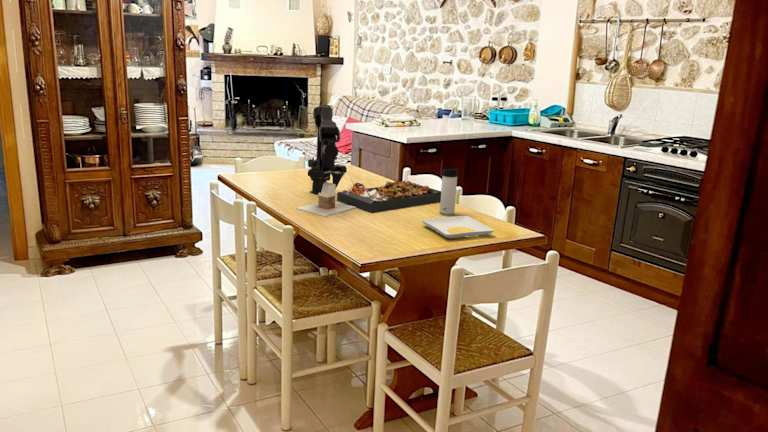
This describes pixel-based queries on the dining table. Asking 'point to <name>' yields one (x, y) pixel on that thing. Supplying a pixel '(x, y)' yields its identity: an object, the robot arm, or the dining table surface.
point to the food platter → (388, 196)
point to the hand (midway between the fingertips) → (327, 191)
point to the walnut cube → (326, 202)
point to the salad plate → (457, 221)
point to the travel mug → (448, 191)
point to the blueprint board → (326, 212)
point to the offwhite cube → (328, 190)
